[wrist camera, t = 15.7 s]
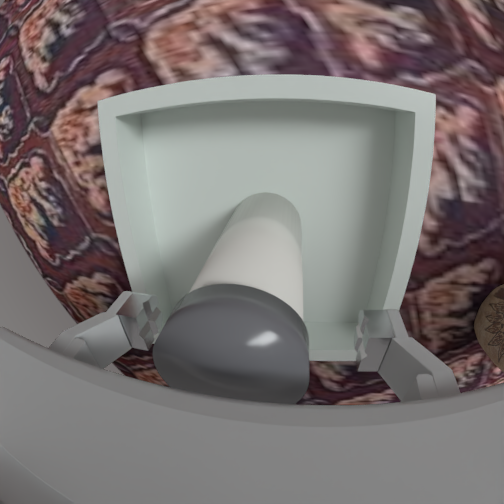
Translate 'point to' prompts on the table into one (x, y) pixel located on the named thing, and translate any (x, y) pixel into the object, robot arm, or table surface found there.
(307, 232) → the tray
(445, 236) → the table surface
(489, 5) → the table surface
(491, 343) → the figurine
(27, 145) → the table surface
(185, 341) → the shaker
